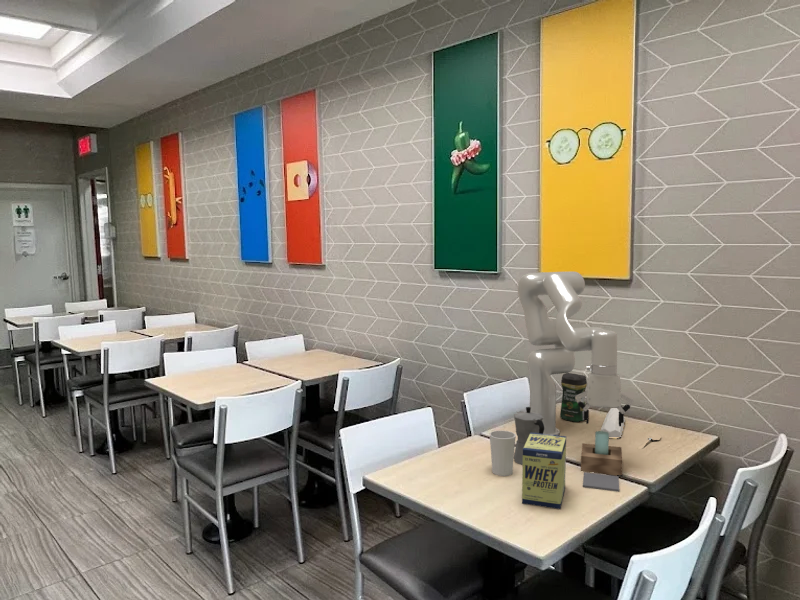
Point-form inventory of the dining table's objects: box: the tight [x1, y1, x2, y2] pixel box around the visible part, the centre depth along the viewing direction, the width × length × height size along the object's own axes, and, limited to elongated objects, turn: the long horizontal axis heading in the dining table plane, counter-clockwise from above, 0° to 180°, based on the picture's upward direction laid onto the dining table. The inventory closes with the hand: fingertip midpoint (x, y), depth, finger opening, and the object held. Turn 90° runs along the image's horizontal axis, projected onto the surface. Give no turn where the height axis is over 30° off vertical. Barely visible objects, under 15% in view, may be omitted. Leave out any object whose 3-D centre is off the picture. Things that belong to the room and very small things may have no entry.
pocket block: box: [580, 443, 623, 476], centre depth 184 cm, size 12×12×5 cm
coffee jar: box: [559, 372, 588, 423], centre depth 233 cm, size 10×8×19 cm
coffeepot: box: [513, 406, 544, 466], centre depth 188 cm, size 15×9×18 cm, turn 19°
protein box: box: [521, 432, 567, 510], centre depth 163 cm, size 10×16×16 cm
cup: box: [489, 429, 517, 477], centre depth 180 cm, size 8×8×12 cm
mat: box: [582, 472, 620, 492], centre depth 172 cm, size 10×10×1 cm
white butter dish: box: [600, 408, 626, 438], centre depth 221 cm, size 7×7×24 cm
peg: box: [594, 430, 610, 455], centre depth 184 cm, size 4×4×11 cm
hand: (603, 423), depth 182 cm, fingers open, 9 cm apart
